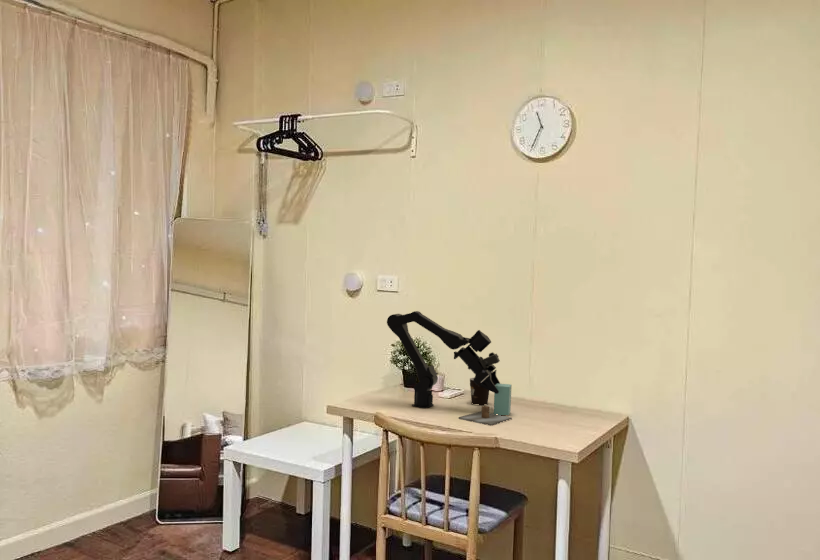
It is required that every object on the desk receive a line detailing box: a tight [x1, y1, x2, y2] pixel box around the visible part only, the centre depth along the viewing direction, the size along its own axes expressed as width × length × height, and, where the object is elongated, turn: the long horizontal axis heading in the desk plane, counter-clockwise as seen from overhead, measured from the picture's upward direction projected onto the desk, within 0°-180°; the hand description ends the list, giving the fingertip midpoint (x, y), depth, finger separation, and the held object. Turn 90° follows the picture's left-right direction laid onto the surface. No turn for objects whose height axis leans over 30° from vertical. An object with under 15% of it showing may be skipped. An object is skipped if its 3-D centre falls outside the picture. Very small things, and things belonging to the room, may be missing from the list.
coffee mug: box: [469, 377, 490, 406], centre depth 273 cm, size 12×9×10 cm
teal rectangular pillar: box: [493, 383, 512, 416], centre depth 254 cm, size 6×6×11 cm
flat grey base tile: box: [458, 405, 513, 426], centre depth 245 cm, size 14×14×5 cm
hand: (499, 390), depth 254 cm, fingers open, 9 cm apart
